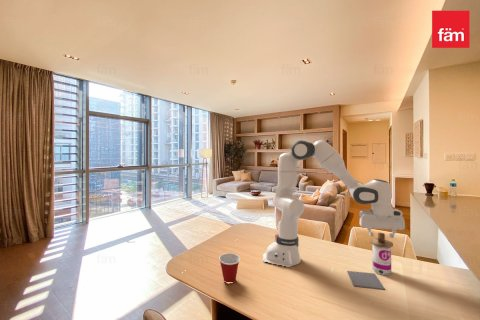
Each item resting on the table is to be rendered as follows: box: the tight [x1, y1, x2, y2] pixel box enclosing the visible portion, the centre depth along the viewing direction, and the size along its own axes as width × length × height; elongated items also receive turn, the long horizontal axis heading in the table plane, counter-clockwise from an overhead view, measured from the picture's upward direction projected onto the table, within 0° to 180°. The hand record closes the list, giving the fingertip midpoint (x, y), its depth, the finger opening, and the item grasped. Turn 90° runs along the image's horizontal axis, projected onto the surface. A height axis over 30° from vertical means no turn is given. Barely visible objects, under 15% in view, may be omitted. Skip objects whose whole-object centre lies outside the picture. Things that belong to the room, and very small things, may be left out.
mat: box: [346, 270, 386, 291], centre depth 106 cm, size 13×13×1 cm
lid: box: [369, 232, 394, 248], centre depth 113 cm, size 10×10×5 cm
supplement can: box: [371, 244, 392, 276], centre depth 113 cm, size 8×8×15 cm
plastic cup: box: [218, 252, 241, 283], centre depth 108 cm, size 11×11×12 cm
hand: (381, 236), depth 113 cm, fingers open, 8 cm apart
